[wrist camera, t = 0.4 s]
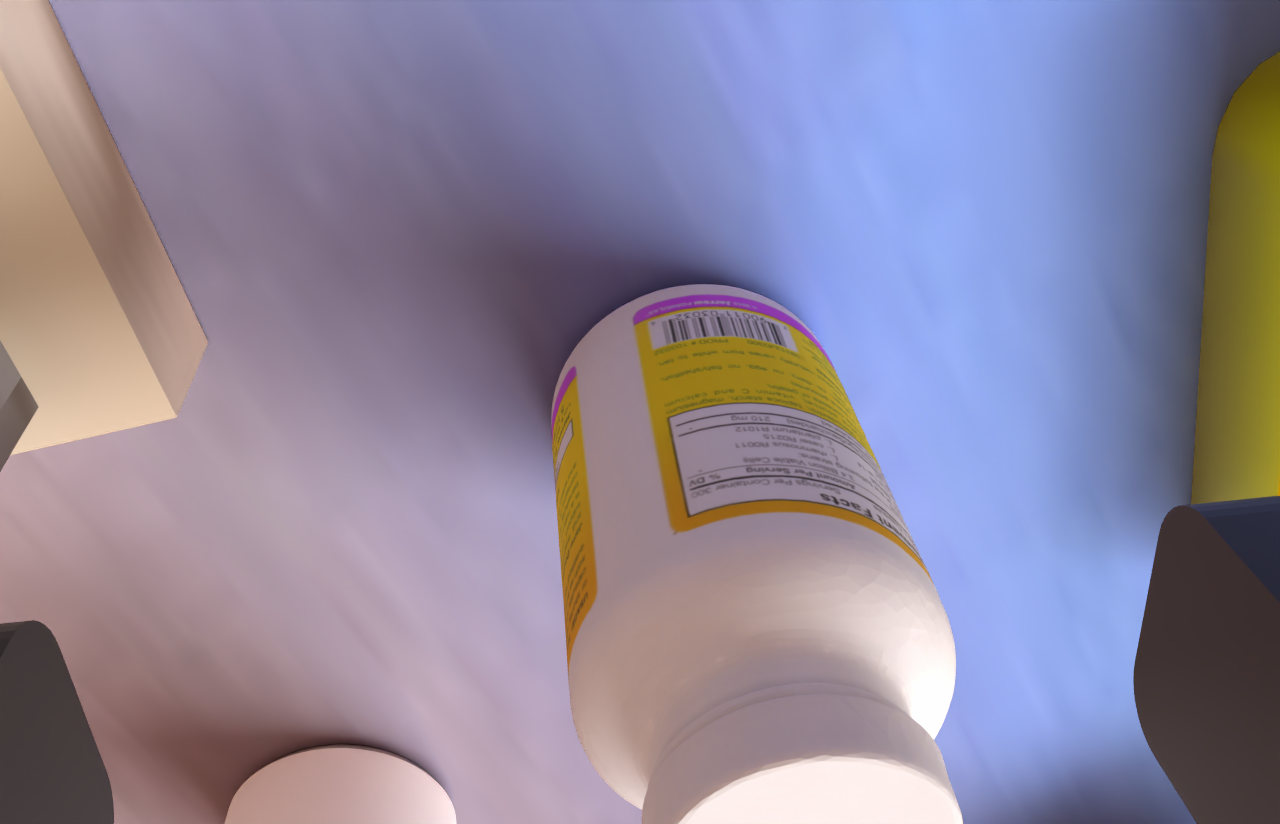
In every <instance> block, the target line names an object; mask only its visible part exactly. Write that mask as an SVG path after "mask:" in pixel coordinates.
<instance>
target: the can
mask: <svg viewBox="0 0 1280 824" xmlns="http://www.w3.org/2000/svg"><path fill="white" fill-rule="evenodd" d="M225 824H456V815H455V810H454V807H453V805H452V802H451V800H450V798H449V797H448V795H447V793H446V792H445V791H444V789H443V788H442V787H441V786H440V785H439V784H438V783H437V782H436V781H435V780H434V779H433V778H432V777H431V776H430V775H429V774H428V773H427V772H426V771H424V770H423V769H422V768H421V767H419V766H418V765H416V764H415V763H413V762H411V761H409V760H408V759H406V758H404V757H401V756H399V755H397V754H394V753H391V752H388V751H385V750H381V749H377V748H373V747H367V746H360V745H325V746H317V747H312V748H307V749H303V750H300V751H297V752H294V753H291V754H288V755H286V756H284V757H282V758H280V759H278V760H276V761H274V762H272V763H271V764H269V765H267V766H265V767H264V768H262V769H260V770H259V771H257V772H256V773H255V774H253V775H252V776H251V777H250V778H248V779H247V780H246V781H245V782H244V783H243V784H242V786H241V787H240V788H239V789H238V791H237V792H236V794H235V795H234V797H233V799H232V801H231V804H230V806H229V809H228V813H227V816H226V820H225Z"/></svg>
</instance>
